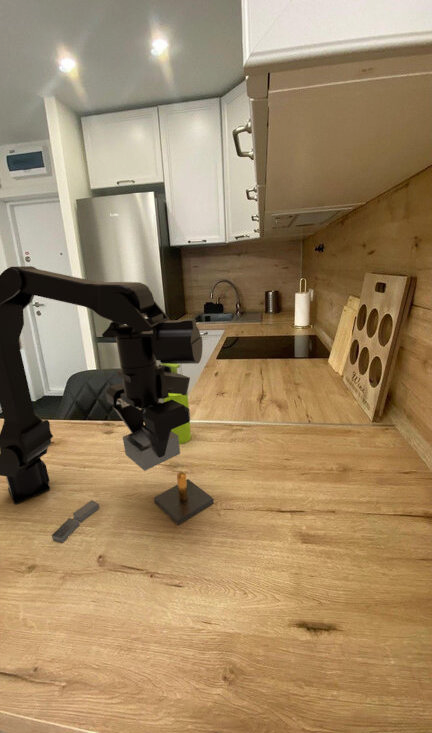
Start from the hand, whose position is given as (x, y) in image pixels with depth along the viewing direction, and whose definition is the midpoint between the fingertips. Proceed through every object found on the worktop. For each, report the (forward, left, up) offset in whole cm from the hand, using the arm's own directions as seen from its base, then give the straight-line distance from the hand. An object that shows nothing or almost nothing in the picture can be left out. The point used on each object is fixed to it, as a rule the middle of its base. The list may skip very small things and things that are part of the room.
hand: (150, 448), depth 57 cm
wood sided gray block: (-15, +5, -13) cm, 20 cm away
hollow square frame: (0, 0, -1) cm, 1 cm away
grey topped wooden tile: (-11, +7, -13) cm, 18 cm away
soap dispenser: (+17, +18, -12) cm, 28 cm away
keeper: (+4, -3, -12) cm, 13 cm away
